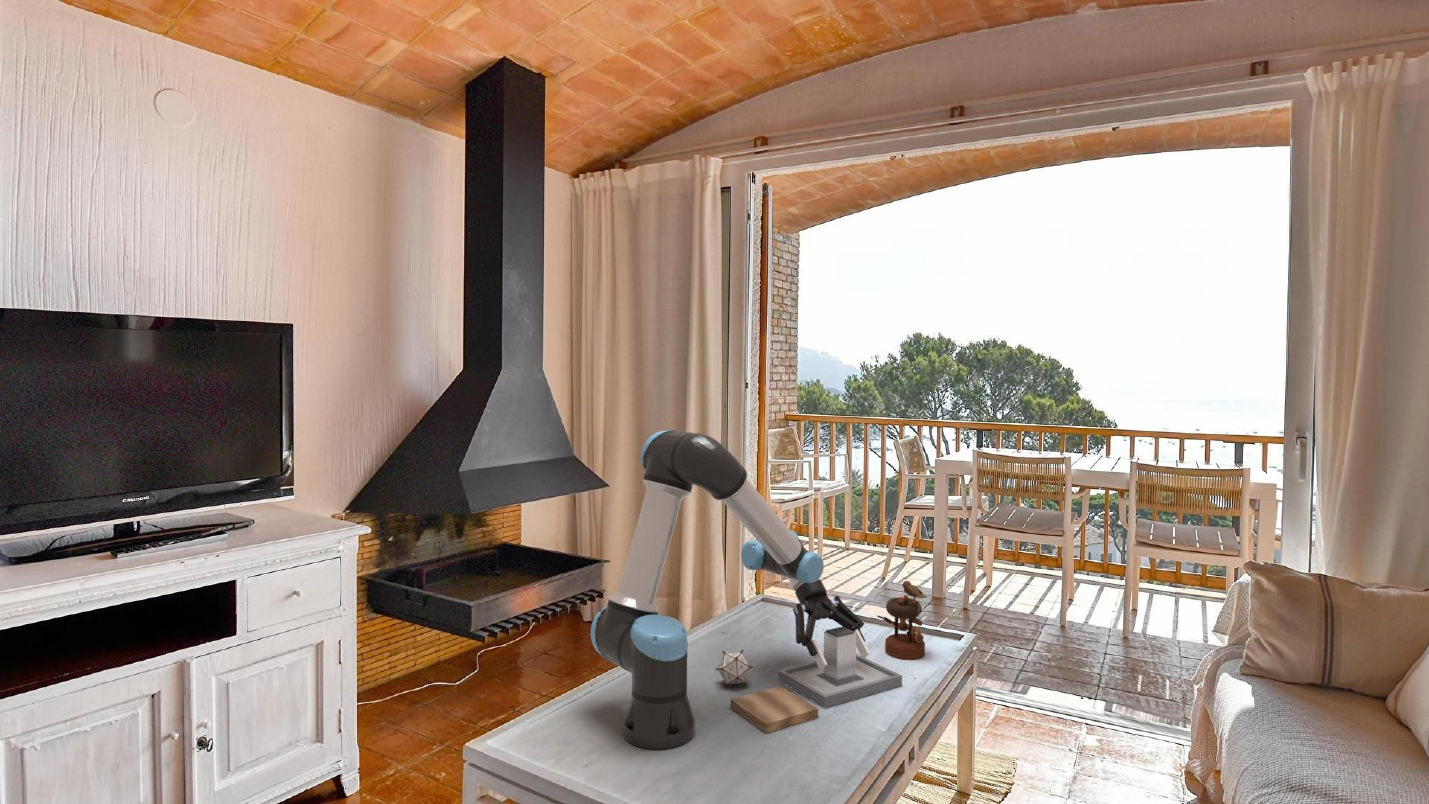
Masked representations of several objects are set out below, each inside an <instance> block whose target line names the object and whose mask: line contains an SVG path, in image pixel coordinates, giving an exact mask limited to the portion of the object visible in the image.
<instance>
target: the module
mask: <svg viewBox="0 0 1429 804" xmlns="http://www.w3.org/2000/svg"><path fill="white" fill-rule="evenodd" d="M856 654H857V647H856V633H854V631H852V630H849V629H847V628H845V627H843V626H838V627H835V628H830V629H826V630H825V631H823V656H824V658H825V660H826V662H827V665H826V666H825V667H824V679H823V680H825V681H827V682H829V683H830V684H832V685H834V686H836V687H837V686H841V685H844V684H848V683H851V682H855V681H856Z"/></svg>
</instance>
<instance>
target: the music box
mask: <svg viewBox="0 0 1429 804" xmlns="http://www.w3.org/2000/svg"><path fill="white" fill-rule="evenodd" d="M902 588H903V593H906V594H903V597H902V596H899V597H892V598H889V600H887V602H886V604H885V609H886V612H887V613H888V615H889V616H891V617H892V618H893V617H894V621H893V620H891V619H890V618H888V617H886V616H882V615H876V616H877V618H879V619H882V620H883V621H884V622H886V623H888V624H889V625H891V624H892V626H894V633H893V634H890V635H888V636H887V637H886V638H885V639H884V641H885V643H884V647H885V648H884V649H885V651H884V652H885V654H886V655H887V656H889V657H892V658H893V659H898V660H904V661H917V660H920V659H923V658H924V657H925V655H926V653H925V651H926V643H925V641H924V639H925V636H924V635H923V634H922V633H921V630H920V628H919V627H921V626H923V620H921V619H920V615H921V613H922V605H921V603H920V599H926V598H928V596H927V595H926V594H924V593H923V592H922V590H920V589H919V587H918V586H916V585H913V584H912V582H911V581H909V580H904V581H903V582H902ZM908 596H909V597H910V596H911V597H913V598H911V597H910V598H909V597H908ZM916 598H917V599H918V600H916ZM906 620H908V622H906ZM913 624H915V625H918V628H917V627H916V626H913ZM899 631H900V632H901V631H903V632H906V633H899Z"/></svg>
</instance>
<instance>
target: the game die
mask: <svg viewBox="0 0 1429 804" xmlns="http://www.w3.org/2000/svg"><path fill="white" fill-rule="evenodd" d="M743 653H744V649H741V650H740V652H727V653H726V652H725V651H724V650H722V655H723V656H722V658H721V661H720V663H719V665H718V667H716V668H715V671H719V674H720V675H721V677H722V679H723V681H724V683H725V684H724V688H726V687H727V686H728V685H732V684H733V685H734V684H743V685H744V686H745V685H746V686H747V683H746V682H745V681H746V679H747V676H748V673H749V671H750V669H753V668H754V666H753V665H750V664H749V662H748V661H747V659H746V657H745V655H744V654H743Z"/></svg>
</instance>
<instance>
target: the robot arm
mask: <svg viewBox="0 0 1429 804" xmlns="http://www.w3.org/2000/svg"><path fill="white" fill-rule="evenodd" d="M639 460H640V464H641V465H642V470H643V471H644V474H643V478H642V483H643V484H644V487H645V489H646V491H645V495H644V497H643V498H644V499H643V502H642V506H641V508H640V511H639V515H638V519H637V521H636V523H637V524H636V525H635V530H634V534H633V537H632V541H631V544H630V547H629V551H628V555H627V559H626V562H625V566H624V568H623V572H622V576H621V579H620V583H619V586H618V590H617V591H616V593H614V594H612V595H610V596H609V598H608V601H607V604H606V606H604V607H603V608H601V610H600V611H598V612H597V613H596V615H595V616H594V618H593V620H592V622H591V626H590V639H591V643H592V646H593V647H594V649H595V650H596V652H597V653H598V654H599V655H600V656H601V657H602V658H603V659H604V660H605V661H608V662H609V663H613V664H614V665H615V666H618V667H620V668H621V669H623V670H625V671H626V672H628V673H630V674H631V699H630V701H629V705H628V707H627V711H626V714H625V717H624V720H623V736H624V739H625V740H626V742H628V743H630V744H632V745H634V746H635V747H639V748H642V749H649V750H666V749H671V748H676V747H679V746H682V745H684V744H686V743H688V742H689V741H690V740H692V738H694V736H695V734H696V719H695V716H694V712H693V710H692V708H691V704H690V700H689V697H688V647H689V642H688V636H687V629H686V627H685V625H684V624H683V623H682V622H681V621H680V620H678V619H676V618H674V617H671V616H668V615H665V616H664V615H662V614H659V608H658V606H657V605H656V601H655V600H656V597H657V593H658V590H659V585H660V581H661V579H662V574H663V571H664V566H665V564H666V560H667V557H668V554H669V553H668V552H669V550H670V549H669V548H670V546H671V541H672V538H673V534H674V532H675V531H674V530H675V528H676V522H677V520H678V519H677V518H678V516H679V512H680V509H681V505H682V501H683V499H685V498H687V497H688V496H689V495H691V493H692V489H693V486H696V487H699V488H701V489H703V490H705V491H706V492H708V493H709V495H711V497H712V498H713V499H714V500H717V501H722V502H723V503H724V504H725V506H726V507H727V508H728V509H729V510H730V511H731V512H732V513H733V515H734V516H735V517H736V518H737V520H739V521H740V523H742V524H743V526H744V527H745V528H746V529H747V530H748V532H749V533H750V534H751V535H752V536H753V538H755V539H754V540H747V541H746V542H745V543H744V544H743V546H742V548H741V551H740V558H741V562H742V564H743V566H744V567H745V568H746V569H748V570H749V571H765V572H769V573H772V574H776V575H778V576H782V577H786V578H787V579H788V581H789V583H790V585H791V588H792V589H793V591H794V594H795V597H796V598H797V600H798V603H797V604H796V605H795V606H794V607H793V609H792V611H793V614H794V617H795V618H794V619H795V642H796V644H797V645H800V644H801V646H802V647H806V649H807V651H808V653H809V655H810V656H811V657H812V658H814V661H816V663H817V665H818V667H819V669H820V670H822V669H823V668H824V667H825V666H826V665H827V662H826V660H825V658H824V653H823V651H822V650H821V648H820V646H819V644H818V642H817V640H816V639H813V636H814V630H815V626H816V621H820V620H826V619H829V620H832V621H834V622H835V623H837V624H838V625H839V626H840V627H845V628H847V629H849V630H852V631H854V633H856V650H857V651H858V652H859V654H860V656H861V657H862V659H864V658H866V659H867V657H868V656H869V655H870V654H871V652H870V650H869V648H868V646H867V645H866V638H865V637H864V635H863V633H862V631H861V629H862V627H864V626H865V622H863V621H862V620H861V618H859V617H858V616H857V615H856V613H854V611H852V610H851V609H850V608H849V607H848V606H847V605H846V604H845V603H844V602H843V601H842V600H841V598H840V596H839V595H835V597H834V598H829V597H828V594H827V589H826V587H825V585H824V583H823V582H822V580H821V579H820V578H821V576H822V575H823V572H824V568H825V567H824V566H825V565H824V560H823V558H822V556H821V555H820V554H819V553H816V552H814V551H812V550H808V549H806V548H805V546H804V544H803V542H802V540H801V538H800V537H799V535H798V533H797V532H796V531H794V530H792V529H790V528H789V527H788V526H787V525H786V524H785V522H784V521H783V520H782V519H781V517H780V516H779V515H778V514H777V513H776V512H775V511H774V509H773V508H772V507H771V506H770V504H769V503H768V502H767V501H766V500H765V498H764V497H763V496H762V495H761V494H760V493H759V491H758V490H757V489H756V488H755V486H754V484H752V483H751V482H750V480H749V479H748V472H747V470H746V468H745V467H744V466H743V465H742V464H741V463H740V461H739V460H738V459H737V458H736V457H735V456H734V454H733V453H731V451H729V450H728V449H727V448H726V446H724V445H723V444H721V442H719V441H718V440H717V439H715V438H713V437H711V436H709V435H707V434H705V433H699V432H691V431H683V430H682V431H681V430H677V429H671V430H670V429H669V430H659V431H657V432H655V433H653V434H652V435H651V436H649V438H647V439H646V441H645V443H644V444H643V446H642V449H641V451H640V459H639ZM805 613H806V614H807V620H806V622H807V623H806V625H805ZM805 626H806V627H805Z"/></svg>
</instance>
